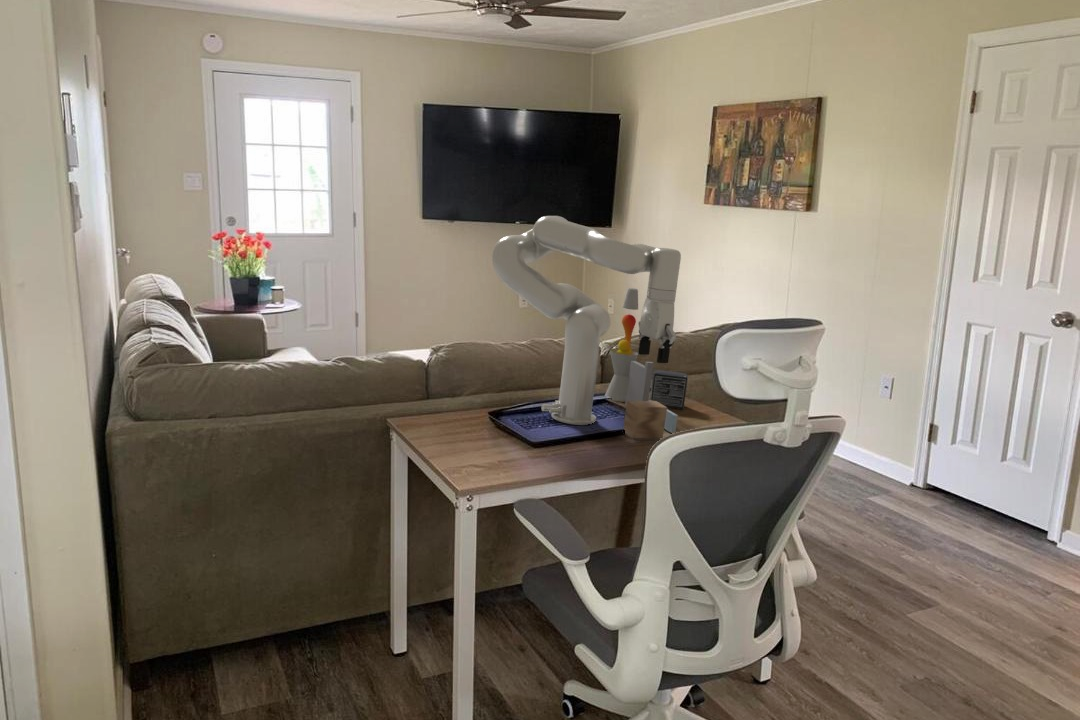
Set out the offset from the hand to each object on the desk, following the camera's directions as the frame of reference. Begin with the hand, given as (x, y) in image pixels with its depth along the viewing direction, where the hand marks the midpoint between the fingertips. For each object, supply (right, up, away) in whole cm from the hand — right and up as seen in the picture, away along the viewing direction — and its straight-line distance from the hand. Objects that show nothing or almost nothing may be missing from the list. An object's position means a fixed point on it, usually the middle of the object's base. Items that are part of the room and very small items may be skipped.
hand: (652, 358), depth 217 cm
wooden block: (-3, -21, +2) cm, 21 cm away
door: (+4, -19, +14) cm, 24 cm away
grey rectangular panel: (-2, -16, +27) cm, 31 cm away
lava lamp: (-6, -13, +40) cm, 42 cm away
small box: (+9, -15, +37) cm, 41 cm away
